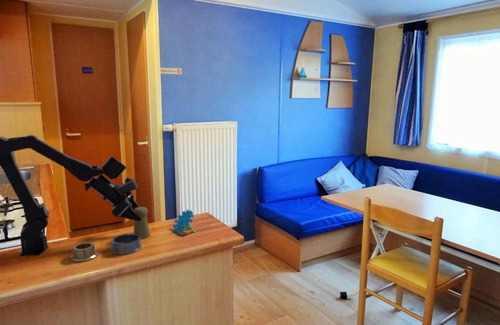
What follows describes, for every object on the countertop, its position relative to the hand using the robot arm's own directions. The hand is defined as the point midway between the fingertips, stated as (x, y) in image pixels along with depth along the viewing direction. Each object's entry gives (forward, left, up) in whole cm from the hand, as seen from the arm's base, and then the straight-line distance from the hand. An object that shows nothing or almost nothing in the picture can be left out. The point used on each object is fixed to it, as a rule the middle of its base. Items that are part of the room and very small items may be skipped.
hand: (141, 216), depth 129 cm
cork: (0, 0, -8) cm, 8 cm away
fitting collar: (-3, -11, -8) cm, 14 cm away
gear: (+15, +4, -8) cm, 18 cm away
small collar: (-15, -16, -8) cm, 23 cm away
